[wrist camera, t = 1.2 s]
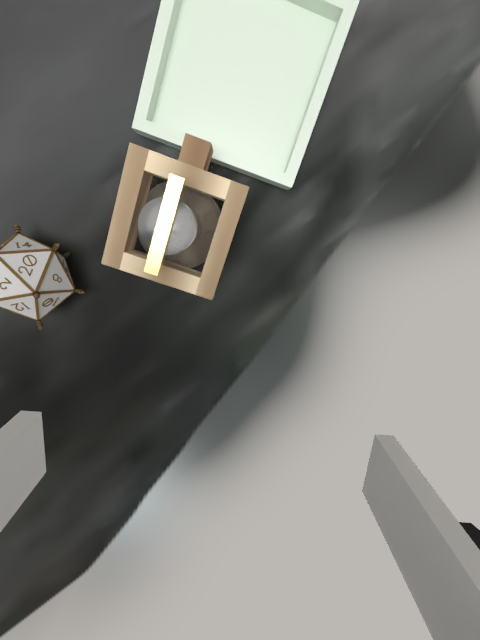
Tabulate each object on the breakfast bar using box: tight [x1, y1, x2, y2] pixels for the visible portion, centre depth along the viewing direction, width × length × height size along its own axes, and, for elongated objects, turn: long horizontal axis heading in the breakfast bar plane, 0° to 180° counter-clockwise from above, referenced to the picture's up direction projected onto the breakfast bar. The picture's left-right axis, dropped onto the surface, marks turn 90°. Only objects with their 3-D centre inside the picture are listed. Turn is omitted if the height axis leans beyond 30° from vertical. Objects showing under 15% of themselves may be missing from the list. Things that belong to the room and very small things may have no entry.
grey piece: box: [138, 173, 221, 276], centre depth 29 cm, size 8×8×12 cm
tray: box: [132, 0, 359, 190], centre depth 29 cm, size 15×15×2 cm
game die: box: [0, 224, 85, 330], centre depth 31 cm, size 9×8×10 cm
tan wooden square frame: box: [101, 133, 249, 300], centre depth 28 cm, size 10×12×3 cm
